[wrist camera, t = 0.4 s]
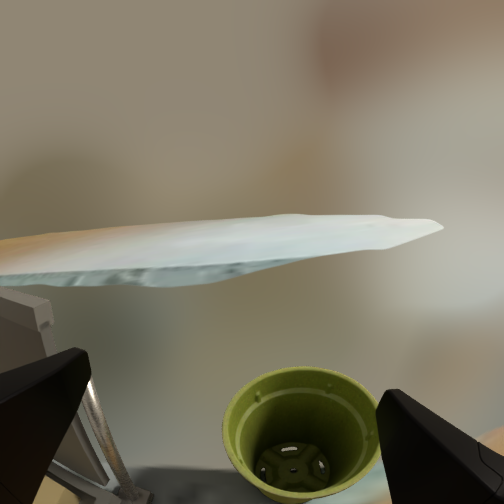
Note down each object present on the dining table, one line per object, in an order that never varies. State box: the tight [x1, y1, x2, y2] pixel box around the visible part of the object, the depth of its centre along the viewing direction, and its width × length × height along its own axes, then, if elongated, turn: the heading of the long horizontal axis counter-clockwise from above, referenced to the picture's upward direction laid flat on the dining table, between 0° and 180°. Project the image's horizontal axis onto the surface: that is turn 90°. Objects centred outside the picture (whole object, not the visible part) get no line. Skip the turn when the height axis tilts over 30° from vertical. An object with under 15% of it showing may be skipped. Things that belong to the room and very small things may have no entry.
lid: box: [0, 286, 110, 486], centre depth 12 cm, size 14×13×1 cm
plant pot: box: [222, 366, 381, 504], centre depth 15 cm, size 9×9×9 cm
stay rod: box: [82, 375, 154, 504], centre depth 12 cm, size 5×2×13 cm, turn 172°
